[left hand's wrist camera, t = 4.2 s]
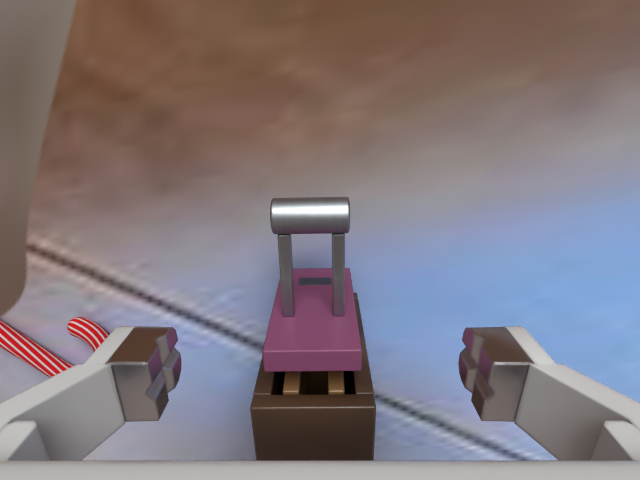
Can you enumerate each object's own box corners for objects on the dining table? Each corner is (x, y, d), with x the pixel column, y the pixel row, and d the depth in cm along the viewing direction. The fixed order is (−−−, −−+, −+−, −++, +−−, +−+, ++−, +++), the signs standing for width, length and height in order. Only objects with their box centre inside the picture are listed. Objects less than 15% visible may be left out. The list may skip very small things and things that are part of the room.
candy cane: (-57, 214, 24) (-80, 221, 23) (136, 344, 28) (126, 357, 26) (-92, 273, 26) (-116, 283, 25) (94, 389, 29) (83, 404, 28)
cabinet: (277, 293, 26) (249, 408, 17) (356, 292, 26) (376, 407, 17) (288, 459, 32) (273, 614, 23) (353, 459, 32) (366, 615, 23)
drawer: (276, 175, 22) (249, 219, 14) (350, 173, 22) (365, 217, 14) (292, 438, 30) (281, 561, 22) (347, 438, 30) (356, 561, 22)
